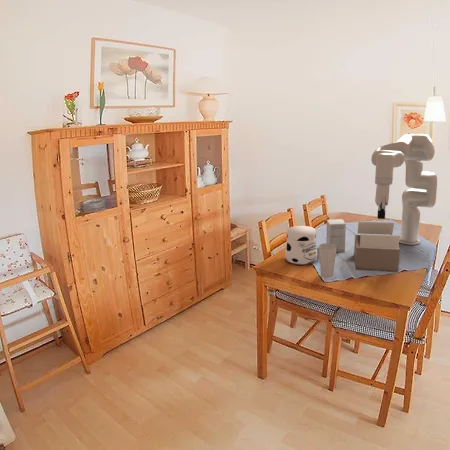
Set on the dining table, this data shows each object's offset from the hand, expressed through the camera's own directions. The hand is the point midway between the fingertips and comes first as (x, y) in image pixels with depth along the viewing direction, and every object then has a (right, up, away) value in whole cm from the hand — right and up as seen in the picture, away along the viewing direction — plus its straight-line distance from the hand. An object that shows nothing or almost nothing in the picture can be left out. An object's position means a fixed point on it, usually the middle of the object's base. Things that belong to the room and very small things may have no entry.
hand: (381, 218), depth 185 cm
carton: (+4, -23, +19) cm, 31 cm away
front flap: (0, -11, +3) cm, 12 cm away
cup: (-24, -29, +8) cm, 38 cm away
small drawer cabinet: (-10, -17, +41) cm, 46 cm away
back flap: (+6, -5, +22) cm, 23 cm away
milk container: (-33, -23, +27) cm, 48 cm away
